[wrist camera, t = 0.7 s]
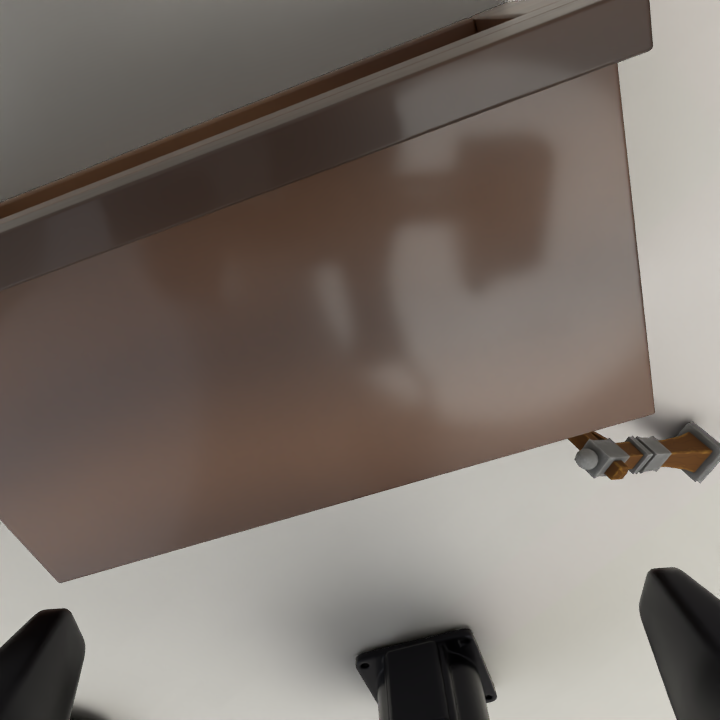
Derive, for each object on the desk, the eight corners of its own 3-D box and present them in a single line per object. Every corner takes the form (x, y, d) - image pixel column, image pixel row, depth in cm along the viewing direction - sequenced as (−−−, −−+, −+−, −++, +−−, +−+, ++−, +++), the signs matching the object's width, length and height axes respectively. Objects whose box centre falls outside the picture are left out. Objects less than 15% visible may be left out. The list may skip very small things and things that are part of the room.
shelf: (565, 303, 21) (686, 450, 14) (129, 441, 24) (36, 629, 16) (509, 0, 16) (649, -19, 9) (-31, 214, 19) (-265, 334, 12)
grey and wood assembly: (526, 372, 22) (613, 457, 18) (646, 384, 26) (734, 454, 23) (502, 410, 22) (582, 497, 19) (623, 415, 27) (704, 487, 24)
